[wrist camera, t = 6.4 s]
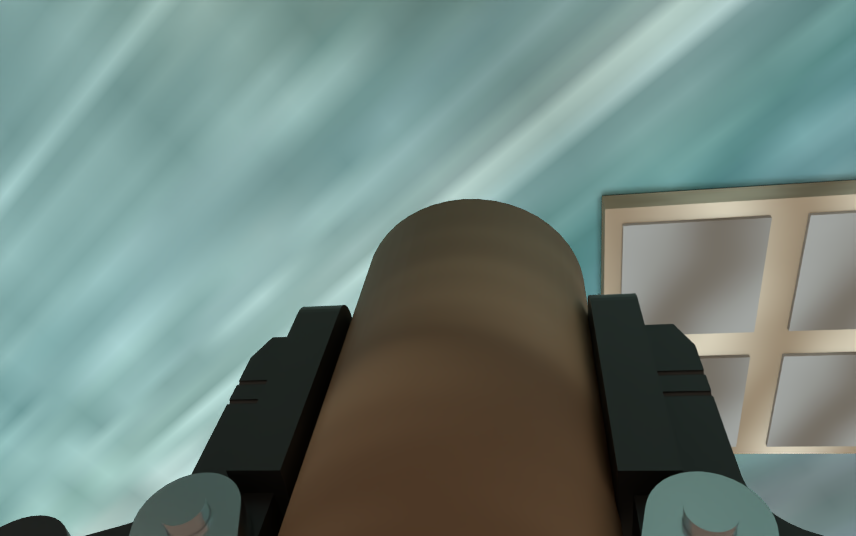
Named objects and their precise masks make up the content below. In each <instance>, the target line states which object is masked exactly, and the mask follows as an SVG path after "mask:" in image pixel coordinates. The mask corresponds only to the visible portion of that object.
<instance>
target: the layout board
mask: <svg viewBox="0 0 856 536" xmlns="http://www.w3.org/2000/svg"><path fill="white" fill-rule="evenodd" d="M631 293H636V295H637V297H638V301H639V305H640V308H641V312H642V316H643V320H644V323H645V325H656V324H674V325H675V326H676V327H677V328H678V329H679V330H680V331H681V332H682V333H683V334H684V335H685V336H686V337H688V338H689V339H690V340H691V341H692V342H693V343H694V344H695V346H696V349H697V352H698V354H699V357H700V360H701V363H702V366H703V368H704V375H706V377H707V380H708V383H709V385H710V388H711V395H712V396H713V397H714V400H715V402H716V405H717V408H718V411H719V414H720V417H721V419H722V422H723V425H724V428H725V431H726V433H727V436H728V439H729V442H730V445H731V448H732V450H733V453H734V454H841V453H856V180H847V181H831V182H815V183H800V184H784V185H768V186H752V187H736V188H721V189H705V190H689V191H673V192H658V193H642V194H626V195H610V196H602V249H601V295H607V294H631Z"/></svg>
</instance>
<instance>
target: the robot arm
mask: <svg viewBox="0 0 856 536" xmlns="http://www.w3.org/2000/svg"><path fill="white" fill-rule="evenodd" d="M351 320H352V317H351V313H350V311H349V309H348V307H347V306H346V305H338V306H315V307H302V308H301V309H300V310H299V312H298V314H297V316H296V318H295V321H294V323H293V325H292V327H291V329H290V332H289V334H288V336H287V337H274V338H272V339H271V340H269V341H268V342H267V343H266V344H265V345H264V346H263V347H262V348H261V349H260V350H259V351H258V352H257V353H255V354H254V355H253V356H252V357H251V359H250V360H249V362H248V364H247V366H246V368H245V370H244V372H243V374H242V376H241V378H240V380H239V382H240V383H239V385H237V386H236V388H235V390H234V392H233V394H232V396H231V398H230V404H227V406H226V408H225V410H224V412H223V413H222V415H221V417H220V419H219V421H218V423H217V425H216V427H215V429H214V431H213V433H212V435H211V437H210V439H209V441H208V443H207V445H206V447H205V449H204V451H203V453H202V455H201V457H200V459H199V461H198V463H197V465H196V467H195V468H194V470H193V472H192V474H191V475H188V476H185V477H182V478H180V479H177V480H175V481H173V482H171V483H169V484H167V485H166V486H164V487H163V488H161V489H160V490H158V491H157V492H156V493H155V494H154V495H152V496H151V497H150V498H149V499H148V500H147V501H146V502H145V504H144V505H143V506H142V508H141V509H140V510H139V512H138V513H137V515H136V517H135V519H134V521H133V522H132V523H129V524H126V525H122V526H119V527H115V528H112V529H108V530H104V531H101V532H97V533H93V534H90V535H86V536H278V534H279V531H280V528H281V525H282V522H283V519H284V516H285V513H286V510H287V507H288V504H289V502H290V499H291V496H292V493H293V490H294V487H295V484H296V481H297V478H298V475H299V472H300V469H301V466H302V463H303V461H304V458H305V455H306V452H307V449H308V446H309V443H310V440H311V437H312V434H313V431H314V428H315V425H316V423H317V420H318V417H319V414H320V411H321V408H322V405H323V402H324V399H325V396H326V393H327V390H328V387H329V385H330V382H331V379H332V376H333V373H334V370H335V367H336V364H337V361H338V358H339V355H340V352H341V349H342V346H343V344H344V341H345V338H346V335H347V332H348V329H349V326H350V323H351ZM588 320H589V327H590V333H591V340H592V347H593V353H594V360H595V367H596V373H597V380H598V386H599V393H600V400H601V406H602V413H603V419H604V426H605V433H606V439H607V446H608V453H609V459H610V466H611V472H612V479H613V486H614V492H615V499H616V506H617V510H618V514H619V517H620V521H621V526H622V533H623V536H823V535H819V534H816V533H813V532H809V531H806V530H803V529H801V528H799V527H797V526H794V525H792V524H790V523H788V522H786V521H785V520H783V519H781V518H779V517H778V516H776V515H775V514H773V513H772V512H771V510H770V509H769V507H768V506H767V505H766V503H765V502H764V501H763V500H762V499H761V498H760V497H759V496H758V495H757V494H756V493H755V492H753V491H752V490H751V489H749V488H748V487H747V486H746V484H745V482H744V480H743V478H742V476H741V473H740V470H739V467H738V465H737V462H736V459H735V456H734V453H733V450H732V448H731V445H730V442H729V439H728V436H727V433H726V431H725V428H724V425H723V422H722V419H721V417H720V414H719V411H718V408H717V405H716V402H715V400H714V397H713V396H712V395H711V388H710V385H709V383H708V380H707V377H706V375H704V368H703V366H702V363H701V360H700V357H699V354H698V352H697V349H696V346H695V344H694V343H693V342H692V341H691V340H690V339H689V338H688V337H686V336H685V335H684V334H683V333H682V332H681V331H680V330H679V329H678V328H677V327H676V326H675V325H674V324H656V325H645V323H644V320H643V316H642V312H641V308H640V305H639V301H638V297H637V295H636V293H631V294H607V295H589V296H588ZM0 536H70V534H69V532H68V531H67V529H66V528H65V526H64V525H63V524H62V523H61V521H59V520H57V519H56V518H53V517H50V516H41V515H40V516H30V517H26V518H21V519H19V520H16V521H13V522H10V523H8V524H6V525H4V526H2V527H0Z"/></svg>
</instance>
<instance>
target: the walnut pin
mask: <svg viewBox="0 0 856 536" xmlns="http://www.w3.org/2000/svg"><path fill="white" fill-rule="evenodd" d="M278 536H623V533H622V526H621V521H620V517H619V514H618V510H617V506H616V499H615V492H614V486H613V479H612V472H611V466H610V459H609V453H608V446H607V439H606V433H605V426H604V419H603V413H602V406H601V400H600V393H599V386H598V380H597V373H596V367H595V360H594V353H593V347H592V340H591V333H590V327H589V320H588V305H587V299H586V292H585V286H584V279H583V275H582V272H581V268H580V265H579V263H578V261H577V258H576V256H575V254H574V253H573V251H572V249H571V248H570V246H569V245H568V243H567V242H566V241H565V240H564V239H563V237H562V236H561V235H560V234H559V233H558V232H557V231H556V230H554V229H553V228H552V227H551V226H550V225H549V224H547V223H546V222H544V221H543V220H542V219H540V218H539V217H537V216H535V215H533V214H531V213H529V212H527V211H525V210H523V209H521V208H518V207H515V206H512V205H510V204H505V203H501V202H497V201H491V200H482V199H461V200H454V201H447V202H443V203H439V204H435V205H432V206H429V207H427V208H424V209H422V210H419V211H418V212H416V213H414V214H412V215H410V216H408V217H407V218H406V219H404V220H403V221H401V222H400V223H399V224H397V225H396V226H395V227H394V228H393V229H392V230H391V231H390V232H389V233H388V234H387V235H386V237H385V238H384V239H383V241H382V242H381V243H380V245H379V247H378V248H377V250H376V252H375V254H374V256H373V259H372V262H371V265H370V268H369V270H368V273H367V276H366V279H365V282H364V285H363V288H362V291H361V294H360V297H359V300H358V303H357V306H356V308H355V311H354V314H353V317H352V320H351V323H350V326H349V329H348V332H347V335H346V338H345V341H344V344H343V346H342V349H341V352H340V355H339V358H338V361H337V364H336V367H335V370H334V373H333V376H332V379H331V382H330V385H329V387H328V390H327V393H326V396H325V399H324V402H323V405H322V408H321V411H320V414H319V417H318V420H317V423H316V425H315V428H314V431H313V434H312V437H311V440H310V443H309V446H308V449H307V452H306V455H305V458H304V461H303V463H302V466H301V469H300V472H299V475H298V478H297V481H296V484H295V487H294V490H293V493H292V496H291V499H290V502H289V504H288V507H287V510H286V513H285V516H284V519H283V522H282V525H281V528H280V531H279V534H278Z"/></svg>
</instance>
